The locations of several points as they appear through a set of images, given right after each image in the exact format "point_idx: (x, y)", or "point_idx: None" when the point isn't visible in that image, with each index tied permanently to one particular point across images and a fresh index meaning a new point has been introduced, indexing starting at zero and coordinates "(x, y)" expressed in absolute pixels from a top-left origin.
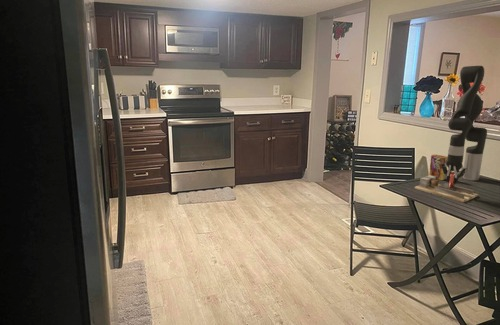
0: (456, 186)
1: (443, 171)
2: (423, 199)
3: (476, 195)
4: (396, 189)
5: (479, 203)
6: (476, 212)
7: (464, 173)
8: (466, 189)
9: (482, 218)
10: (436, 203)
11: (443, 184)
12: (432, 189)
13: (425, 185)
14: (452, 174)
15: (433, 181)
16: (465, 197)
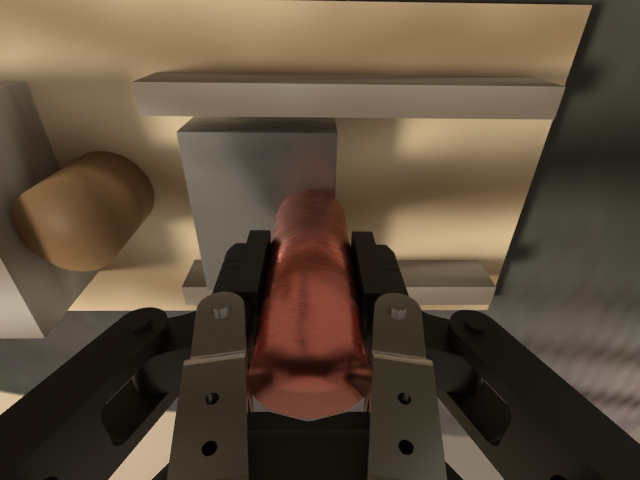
0: (337, 136)
1: (117, 415)
2: (262, 409)
3: (569, 59)
4: (19, 392)
5: (599, 220)
6: (588, 373)
7: (571, 394)
8: (471, 118)
9: (622, 412)
10: (351, 408)
11: (201, 218)
12: (165, 263)
13: (79, 287)
14: (323, 403)
15: (84, 265)
16: (483, 234)
